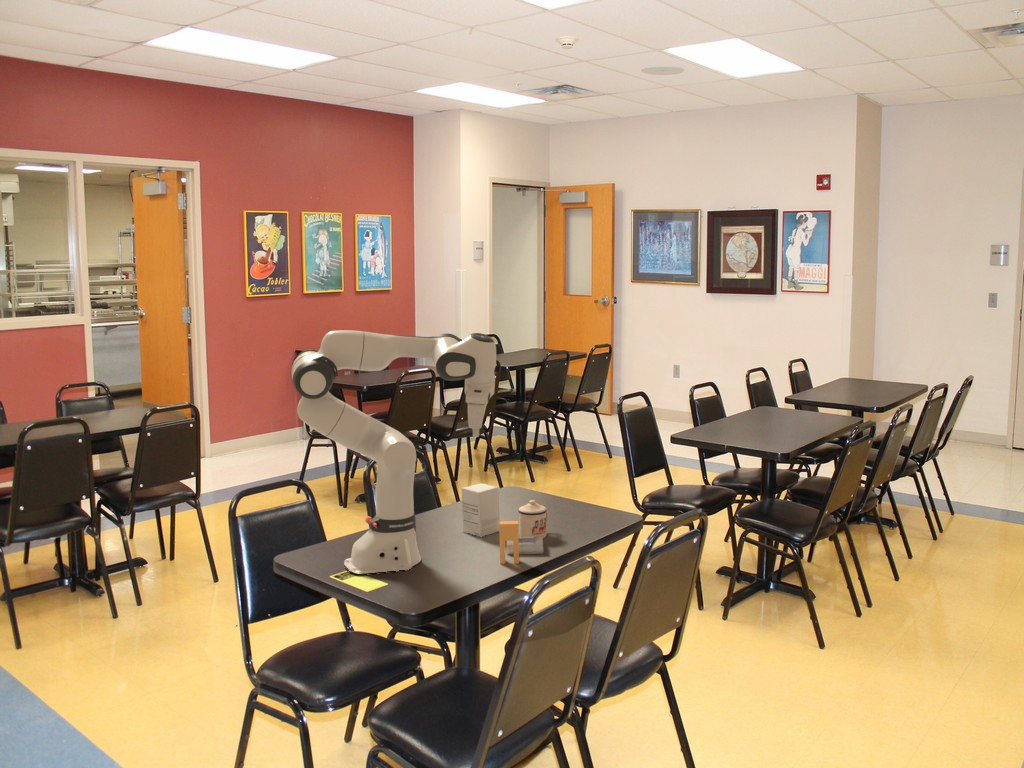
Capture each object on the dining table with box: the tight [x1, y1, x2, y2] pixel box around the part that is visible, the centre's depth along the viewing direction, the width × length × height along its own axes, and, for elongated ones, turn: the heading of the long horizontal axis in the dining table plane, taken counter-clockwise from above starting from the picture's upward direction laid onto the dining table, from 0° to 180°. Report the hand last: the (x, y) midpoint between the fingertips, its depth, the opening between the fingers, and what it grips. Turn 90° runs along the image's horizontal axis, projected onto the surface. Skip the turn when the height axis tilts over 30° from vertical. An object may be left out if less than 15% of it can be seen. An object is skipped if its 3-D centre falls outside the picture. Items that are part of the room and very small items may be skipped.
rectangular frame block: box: [506, 536, 544, 555], centre depth 270 cm, size 8×11×3 cm
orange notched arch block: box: [498, 520, 520, 565], centre depth 258 cm, size 6×3×12 cm, turn 90°
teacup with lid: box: [518, 499, 549, 539], centre depth 284 cm, size 12×9×12 cm
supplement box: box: [461, 482, 501, 538], centre depth 289 cm, size 9×9×15 cm
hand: (477, 429), depth 265 cm, fingers open, 8 cm apart
